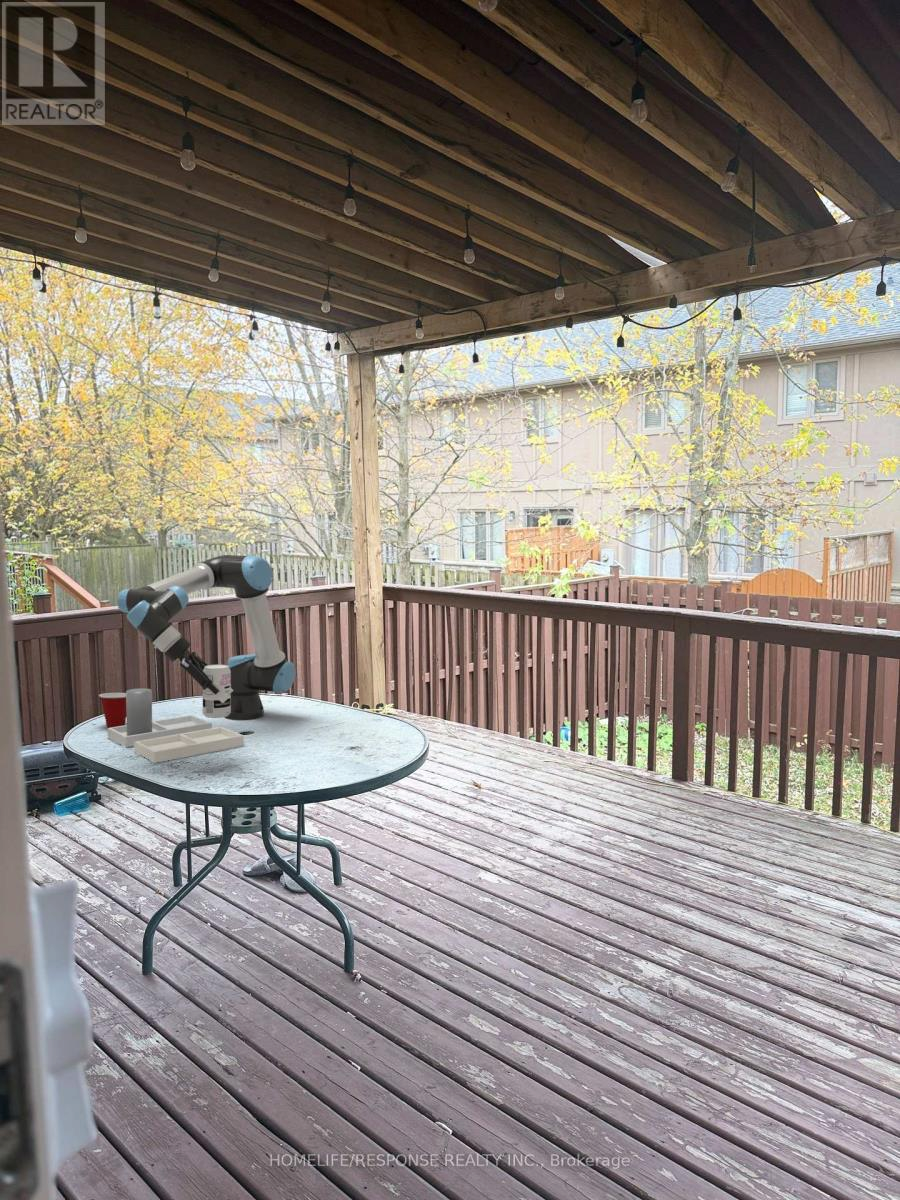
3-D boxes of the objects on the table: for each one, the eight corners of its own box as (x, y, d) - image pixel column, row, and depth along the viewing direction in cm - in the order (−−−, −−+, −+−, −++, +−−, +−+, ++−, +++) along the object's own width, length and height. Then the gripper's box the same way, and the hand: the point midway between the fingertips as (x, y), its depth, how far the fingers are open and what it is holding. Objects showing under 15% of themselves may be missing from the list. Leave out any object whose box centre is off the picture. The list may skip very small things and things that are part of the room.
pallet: (221, 736, 273) (221, 726, 273) (243, 745, 262) (243, 735, 262) (134, 752, 252) (134, 741, 252) (154, 763, 241) (154, 752, 241)
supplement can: (205, 712, 246) (205, 664, 244) (233, 712, 246) (232, 664, 245) (200, 718, 238) (199, 668, 236) (228, 718, 238) (228, 669, 237)
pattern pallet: (192, 724, 289) (191, 679, 287) (211, 732, 278) (211, 685, 276) (107, 738, 268) (106, 690, 267) (125, 747, 257) (124, 697, 256)
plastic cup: (138, 723, 288) (137, 691, 287) (123, 731, 277) (122, 697, 276) (109, 722, 289) (109, 689, 288) (93, 729, 278) (92, 696, 277)
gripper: (170, 647, 248) (223, 697, 252) (155, 659, 228) (214, 713, 231) (188, 630, 249) (241, 681, 252) (174, 640, 228) (232, 695, 232)
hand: (228, 696), depth 242 cm, fingers closed on supplement can, 8 cm apart
